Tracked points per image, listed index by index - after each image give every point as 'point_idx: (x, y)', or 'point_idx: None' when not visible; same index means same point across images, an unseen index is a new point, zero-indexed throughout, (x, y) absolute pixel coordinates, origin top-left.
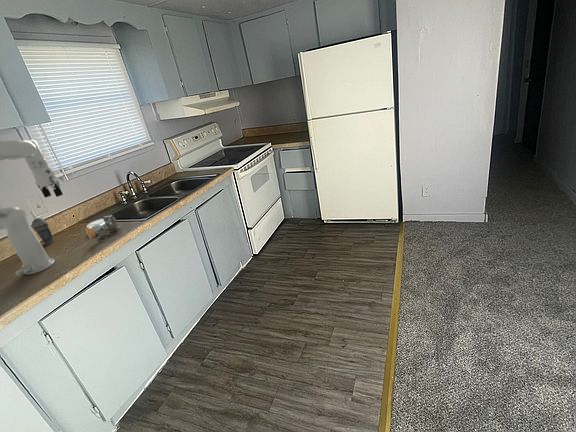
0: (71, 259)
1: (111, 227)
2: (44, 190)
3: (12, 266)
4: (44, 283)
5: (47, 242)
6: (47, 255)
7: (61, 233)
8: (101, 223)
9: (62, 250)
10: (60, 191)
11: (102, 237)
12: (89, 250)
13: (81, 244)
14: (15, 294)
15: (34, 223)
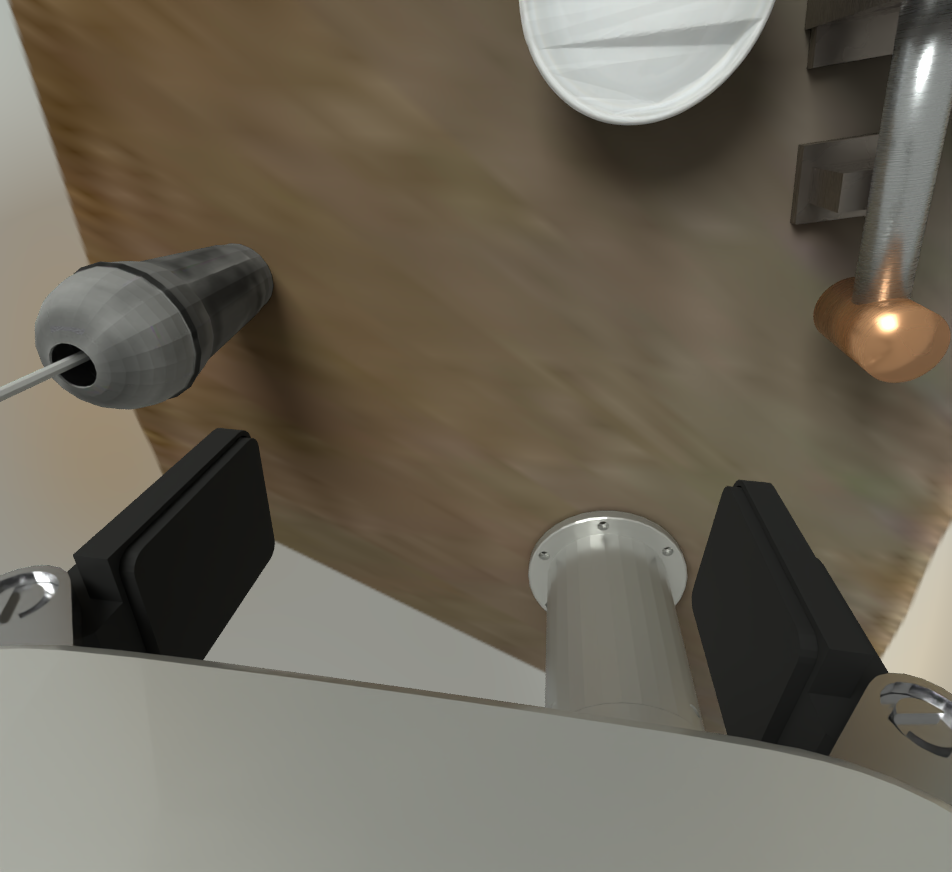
0: None
1: (888, 11)
2: (169, 648)
3: (357, 552)
4: None
5: (258, 311)
6: (650, 571)
7: (109, 82)
8: (767, 10)
9: (555, 400)
10: (841, 598)
11: (857, 216)
12: (857, 409)
13: (666, 316)
14: (718, 726)
15: (135, 405)
